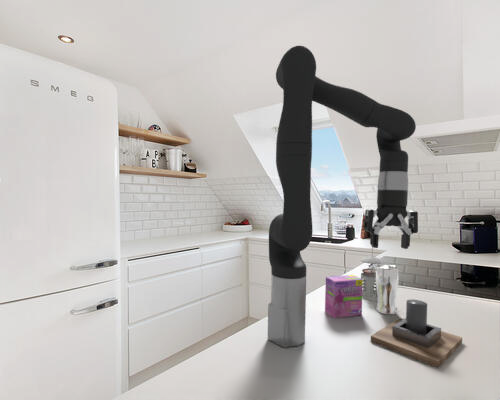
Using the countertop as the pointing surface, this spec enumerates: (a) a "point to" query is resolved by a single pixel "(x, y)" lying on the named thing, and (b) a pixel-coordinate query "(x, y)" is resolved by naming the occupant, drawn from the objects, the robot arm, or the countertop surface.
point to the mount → (418, 342)
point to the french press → (370, 278)
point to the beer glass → (386, 288)
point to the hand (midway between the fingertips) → (389, 248)
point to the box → (343, 296)
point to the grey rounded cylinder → (416, 316)
